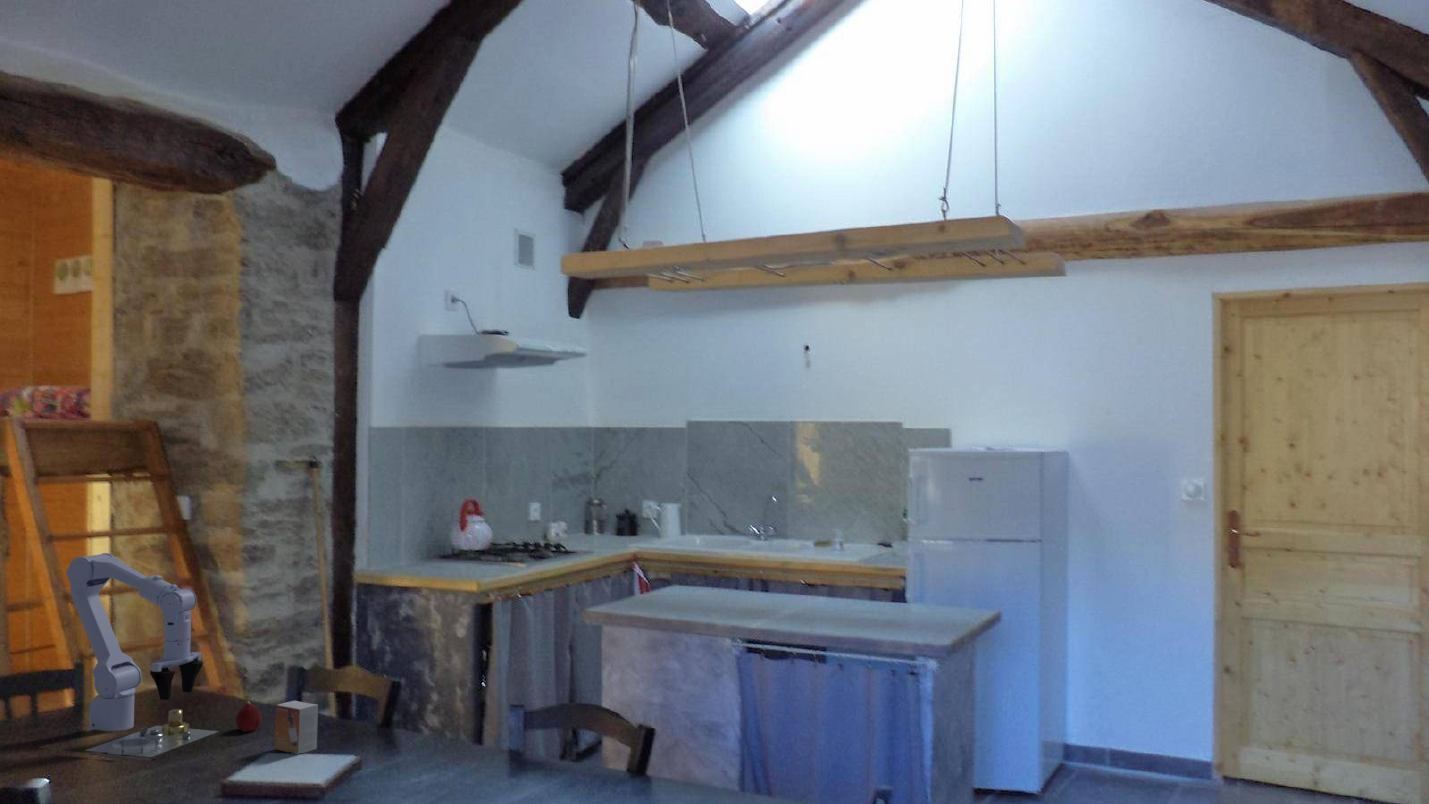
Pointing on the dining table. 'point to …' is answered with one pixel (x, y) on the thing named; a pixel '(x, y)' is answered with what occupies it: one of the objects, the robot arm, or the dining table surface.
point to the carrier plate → (148, 743)
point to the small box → (296, 727)
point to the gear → (175, 723)
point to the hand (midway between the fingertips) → (176, 695)
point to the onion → (248, 718)
